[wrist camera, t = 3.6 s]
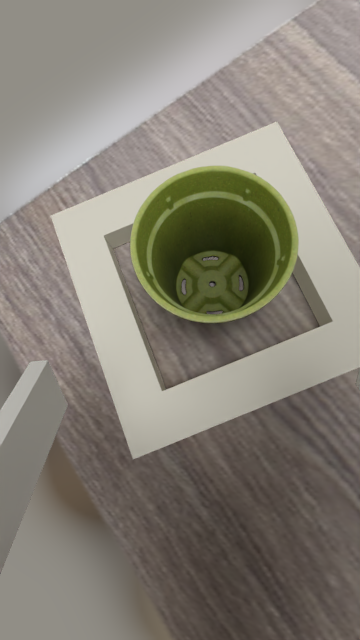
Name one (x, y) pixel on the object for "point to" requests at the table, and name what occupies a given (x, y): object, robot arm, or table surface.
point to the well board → (242, 375)
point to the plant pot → (214, 243)
